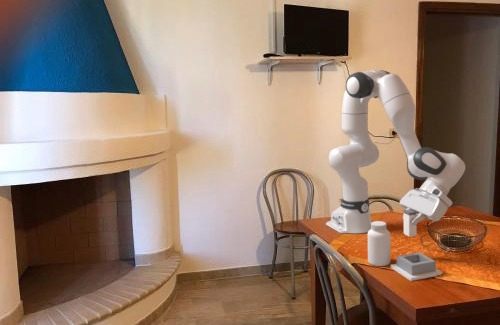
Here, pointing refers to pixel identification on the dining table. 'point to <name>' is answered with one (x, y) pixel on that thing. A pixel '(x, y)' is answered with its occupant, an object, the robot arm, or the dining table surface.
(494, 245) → the dining table surface
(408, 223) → the plug
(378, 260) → the pill bottle
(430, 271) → the socket
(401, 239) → the dining table surface
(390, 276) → the dining table surface
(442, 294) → the dining table surface
